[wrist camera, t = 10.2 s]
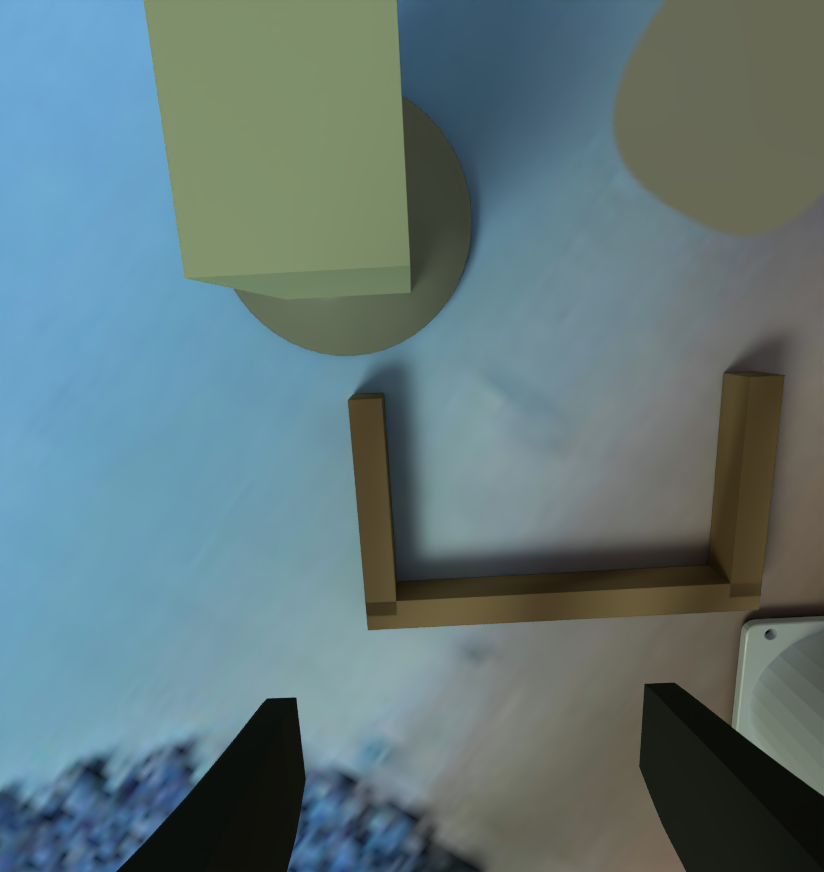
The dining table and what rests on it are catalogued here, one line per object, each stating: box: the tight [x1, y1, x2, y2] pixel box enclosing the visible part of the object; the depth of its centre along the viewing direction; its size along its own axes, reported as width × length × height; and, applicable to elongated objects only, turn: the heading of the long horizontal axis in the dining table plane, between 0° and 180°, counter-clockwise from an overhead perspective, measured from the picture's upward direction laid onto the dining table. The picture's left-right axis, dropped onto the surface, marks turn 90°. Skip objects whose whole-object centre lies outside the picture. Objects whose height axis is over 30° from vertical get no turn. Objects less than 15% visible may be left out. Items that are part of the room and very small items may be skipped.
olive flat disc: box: [234, 96, 472, 356], centre depth 17 cm, size 9×9×1 cm
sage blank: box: [144, 0, 411, 300], centre depth 13 cm, size 4×5×8 cm
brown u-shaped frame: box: [348, 372, 785, 630], centre depth 19 cm, size 15×9×2 cm, turn 93°
